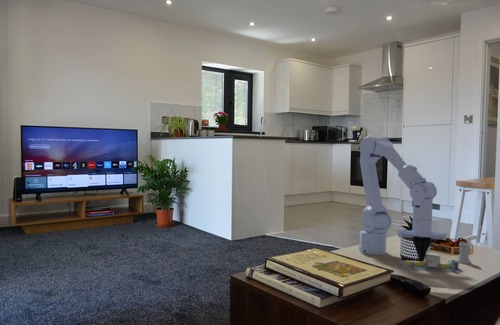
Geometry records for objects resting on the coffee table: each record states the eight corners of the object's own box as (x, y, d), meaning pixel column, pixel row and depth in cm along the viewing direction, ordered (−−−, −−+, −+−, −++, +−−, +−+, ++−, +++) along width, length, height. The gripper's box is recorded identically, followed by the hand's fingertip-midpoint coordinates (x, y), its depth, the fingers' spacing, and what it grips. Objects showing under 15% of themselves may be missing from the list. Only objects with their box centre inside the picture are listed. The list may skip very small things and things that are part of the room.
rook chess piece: (469, 264, 128) (470, 241, 128) (472, 268, 124) (473, 244, 124) (454, 263, 130) (455, 240, 129) (457, 266, 125) (458, 243, 125)
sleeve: (426, 266, 119) (426, 255, 119) (423, 263, 123) (423, 252, 123) (439, 267, 119) (440, 256, 119) (435, 264, 123) (436, 253, 123)
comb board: (404, 272, 118) (404, 261, 118) (397, 263, 128) (398, 253, 128) (462, 276, 115) (462, 265, 115) (450, 267, 125) (451, 257, 125)
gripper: (401, 219, 119) (400, 261, 119) (450, 222, 116) (448, 265, 116) (396, 216, 126) (395, 255, 126) (442, 218, 123) (441, 259, 123)
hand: (420, 260), depth 122 cm, fingers closed
